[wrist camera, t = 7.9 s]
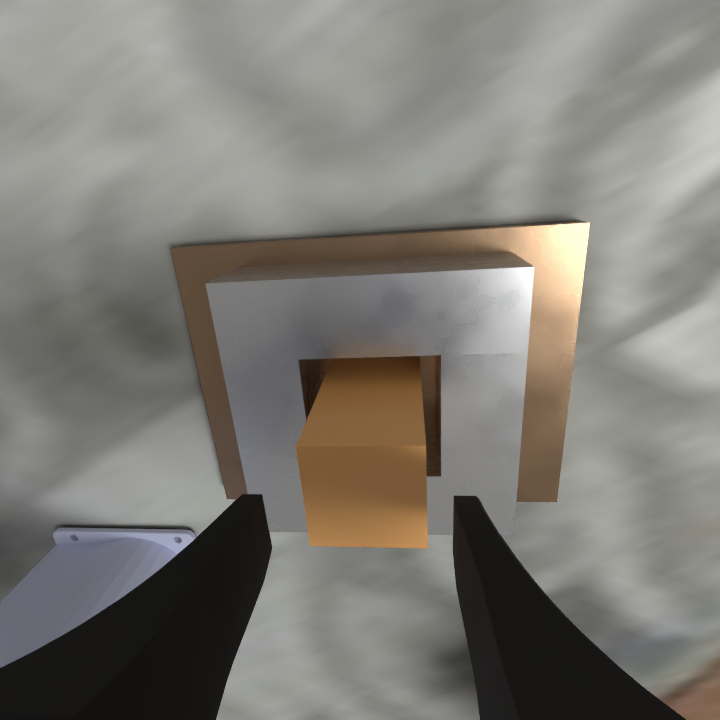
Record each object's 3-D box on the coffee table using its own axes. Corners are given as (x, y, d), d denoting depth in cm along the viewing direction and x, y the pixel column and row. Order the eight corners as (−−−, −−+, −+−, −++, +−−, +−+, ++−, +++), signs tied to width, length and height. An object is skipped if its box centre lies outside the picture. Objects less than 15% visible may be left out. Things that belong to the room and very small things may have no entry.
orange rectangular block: (341, 426, 22) (309, 546, 15) (334, 353, 21) (295, 446, 14) (420, 425, 22) (427, 548, 15) (418, 351, 20) (426, 445, 13)
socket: (233, 487, 26) (200, 546, 22) (181, 245, 21) (124, 261, 17) (550, 489, 24) (581, 554, 20) (580, 220, 19) (630, 231, 14)
